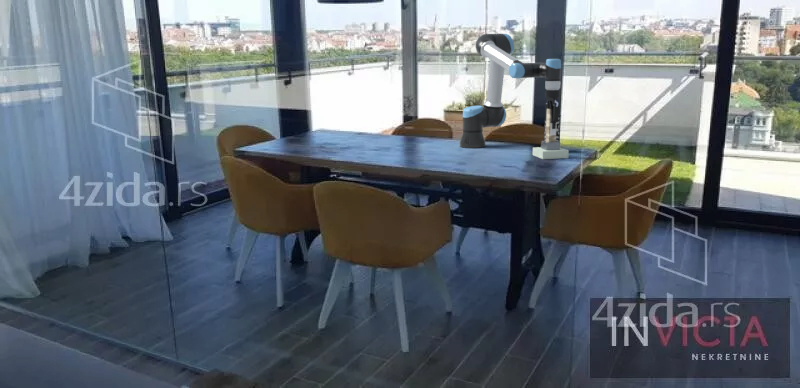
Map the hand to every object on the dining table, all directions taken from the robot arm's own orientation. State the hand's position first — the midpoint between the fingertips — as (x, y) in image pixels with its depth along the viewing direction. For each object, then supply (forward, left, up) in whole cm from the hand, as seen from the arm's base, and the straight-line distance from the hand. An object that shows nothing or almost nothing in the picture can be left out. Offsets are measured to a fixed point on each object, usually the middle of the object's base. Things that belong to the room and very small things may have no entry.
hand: (551, 134), depth 325 cm
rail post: (0, 0, -5) cm, 5 cm away
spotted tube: (+8, +17, -12) cm, 22 cm away
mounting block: (0, 0, -12) cm, 12 cm away
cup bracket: (0, 0, -8) cm, 8 cm away
